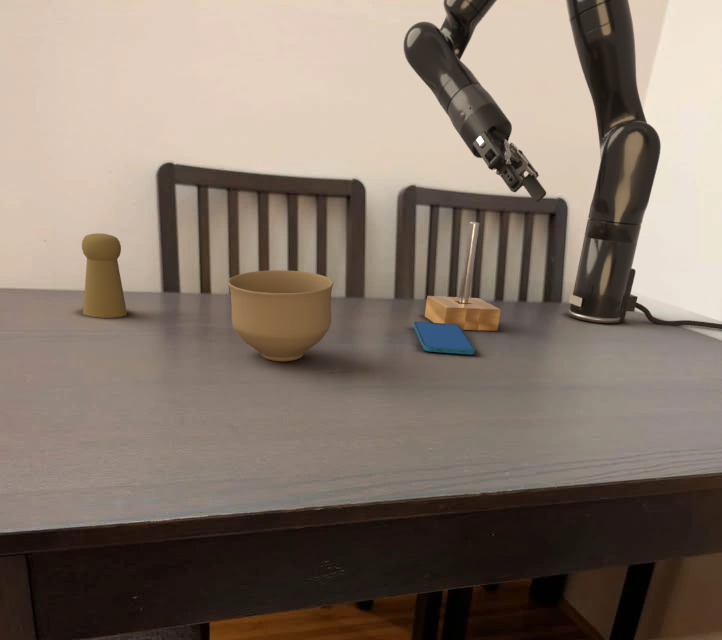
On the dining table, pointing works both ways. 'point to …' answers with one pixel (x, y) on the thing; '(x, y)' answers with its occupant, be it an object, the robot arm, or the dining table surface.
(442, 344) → the smartphone
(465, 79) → the robot arm
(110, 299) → the game pawn piece
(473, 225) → the stylus
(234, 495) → the dining table surface
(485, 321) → the holder
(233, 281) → the bowl
